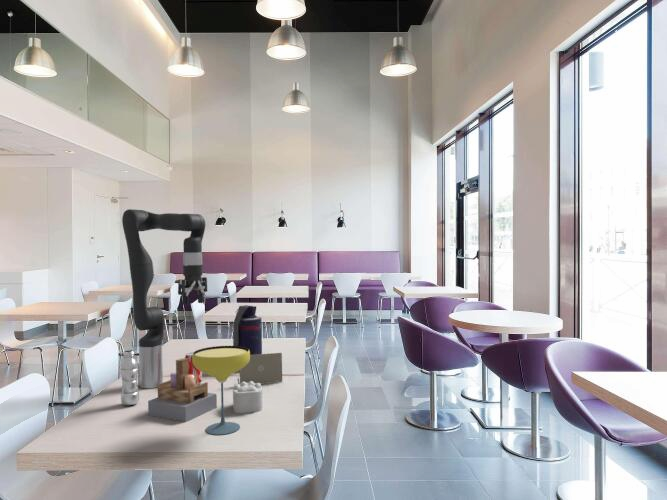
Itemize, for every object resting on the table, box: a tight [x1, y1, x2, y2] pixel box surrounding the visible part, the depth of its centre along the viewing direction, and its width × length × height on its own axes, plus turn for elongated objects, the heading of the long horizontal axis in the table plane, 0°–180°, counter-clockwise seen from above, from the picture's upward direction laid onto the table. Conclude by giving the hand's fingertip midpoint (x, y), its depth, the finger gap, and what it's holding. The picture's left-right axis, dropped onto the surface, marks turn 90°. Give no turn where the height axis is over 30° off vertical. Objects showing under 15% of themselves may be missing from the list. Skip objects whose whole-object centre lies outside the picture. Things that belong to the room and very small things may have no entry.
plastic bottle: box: [119, 349, 140, 406], centre depth 188 cm, size 6×7×20 cm
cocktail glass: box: [192, 345, 250, 436], centre depth 161 cm, size 18×18×25 cm
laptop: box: [237, 352, 283, 385], centre depth 219 cm, size 18×12×13 cm
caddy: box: [157, 357, 209, 403], centre depth 179 cm, size 15×9×14 cm, turn 64°
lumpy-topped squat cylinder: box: [232, 381, 263, 414], centre depth 183 cm, size 10×13×9 cm
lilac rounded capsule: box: [170, 372, 176, 388], centre depth 181 cm, size 3×3×4 cm
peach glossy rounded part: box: [185, 375, 195, 390], centre depth 178 cm, size 3×3×4 cm
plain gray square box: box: [147, 392, 218, 423], centre depth 179 cm, size 17×16×5 cm
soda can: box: [184, 351, 203, 385], centre depth 214 cm, size 7×7×13 cm
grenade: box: [232, 304, 263, 355], centre depth 239 cm, size 14×12×30 cm
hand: (193, 304), depth 201 cm, fingers open, 8 cm apart
